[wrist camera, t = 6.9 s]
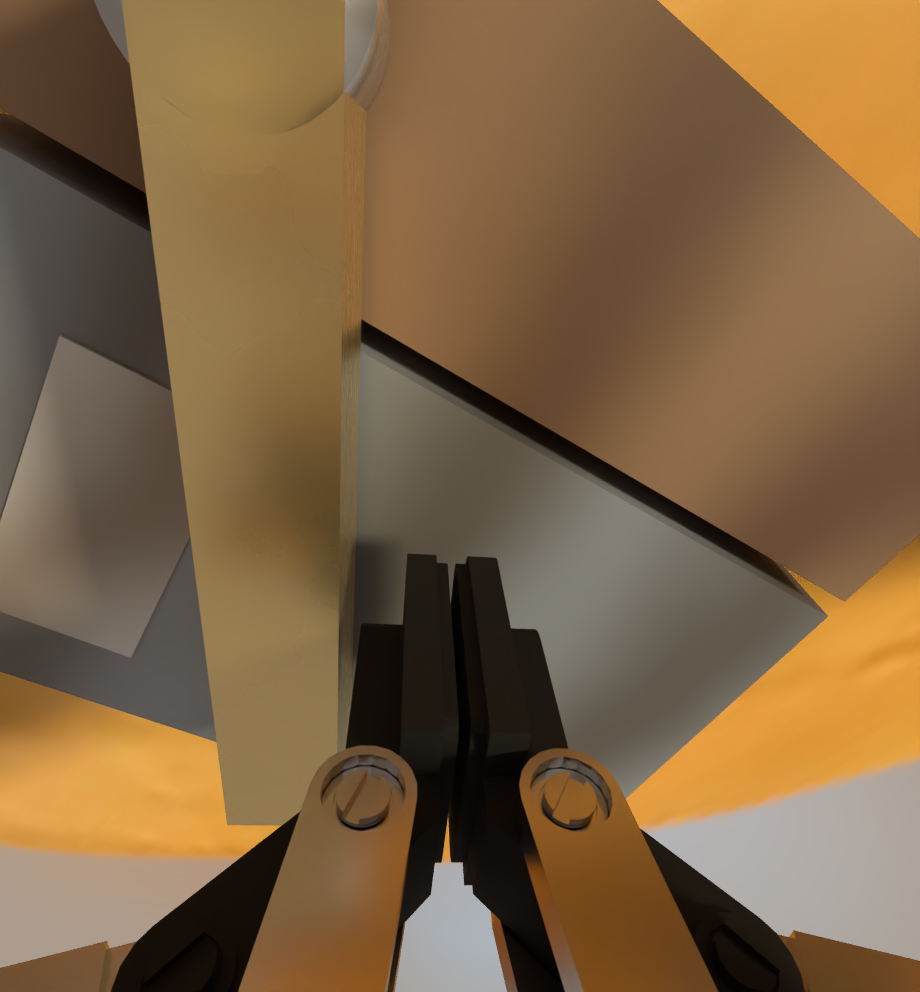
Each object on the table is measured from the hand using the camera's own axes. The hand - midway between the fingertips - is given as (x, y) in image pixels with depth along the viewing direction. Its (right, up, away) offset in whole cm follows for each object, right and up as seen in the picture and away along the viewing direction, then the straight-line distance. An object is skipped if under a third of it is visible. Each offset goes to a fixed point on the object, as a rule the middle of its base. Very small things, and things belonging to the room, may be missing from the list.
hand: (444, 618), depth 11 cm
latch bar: (-2, +4, -1) cm, 4 cm away
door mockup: (-1, +3, +4) cm, 5 cm away
